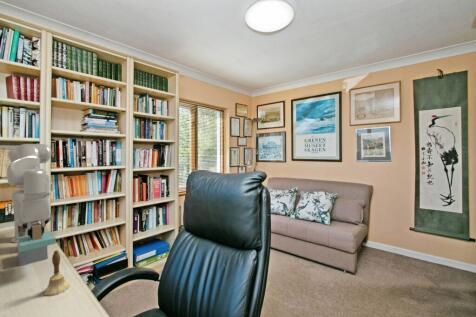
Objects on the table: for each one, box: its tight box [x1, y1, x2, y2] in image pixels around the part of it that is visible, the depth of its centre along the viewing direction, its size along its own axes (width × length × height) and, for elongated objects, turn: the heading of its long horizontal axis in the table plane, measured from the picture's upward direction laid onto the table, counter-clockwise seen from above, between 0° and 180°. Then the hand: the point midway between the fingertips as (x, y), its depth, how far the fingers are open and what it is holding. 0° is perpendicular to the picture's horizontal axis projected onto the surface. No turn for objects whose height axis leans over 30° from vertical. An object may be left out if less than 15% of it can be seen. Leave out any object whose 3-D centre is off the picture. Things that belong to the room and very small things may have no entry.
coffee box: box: [18, 221, 40, 237], centre depth 129 cm, size 9×6×16 cm
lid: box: [17, 222, 57, 252], centre depth 105 cm, size 15×12×8 cm
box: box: [16, 243, 49, 267], centre depth 117 cm, size 14×10×7 cm
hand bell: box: [42, 249, 70, 297], centre depth 91 cm, size 8×8×16 cm
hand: (36, 235), depth 105 cm, fingers closed on lid, 3 cm apart
